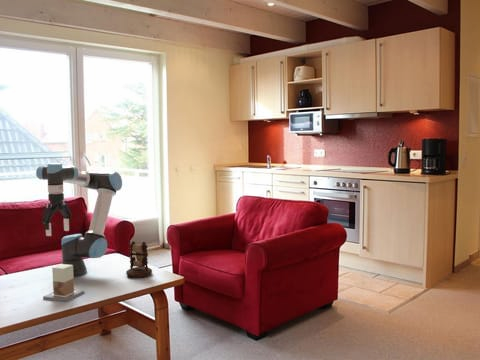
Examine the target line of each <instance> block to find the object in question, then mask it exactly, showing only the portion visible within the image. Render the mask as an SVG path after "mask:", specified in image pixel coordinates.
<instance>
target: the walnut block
mask: <svg viewBox="0 0 480 360" xmlns="http://www.w3.org/2000/svg"><path fill="white" fill-rule="evenodd" d="M74 279H75V277H74V278H73V279H71V280H69V281H66V282H56V281H53V280H52V287H53V288H52V290H53V291H52V292H54V295H61V296H66V295H68V294H70V293H72V292H74V289H75V284H74V283H75V280H74Z"/></svg>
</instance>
